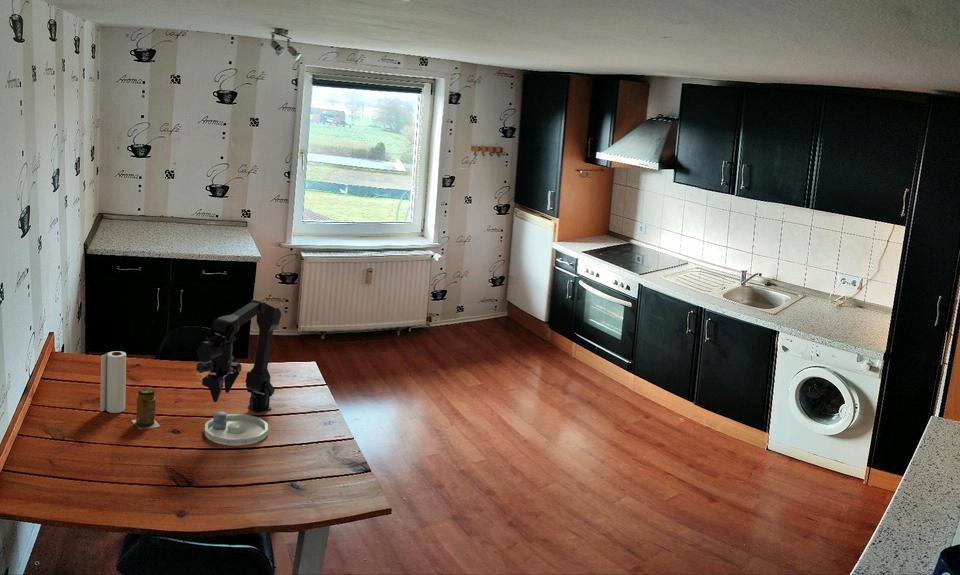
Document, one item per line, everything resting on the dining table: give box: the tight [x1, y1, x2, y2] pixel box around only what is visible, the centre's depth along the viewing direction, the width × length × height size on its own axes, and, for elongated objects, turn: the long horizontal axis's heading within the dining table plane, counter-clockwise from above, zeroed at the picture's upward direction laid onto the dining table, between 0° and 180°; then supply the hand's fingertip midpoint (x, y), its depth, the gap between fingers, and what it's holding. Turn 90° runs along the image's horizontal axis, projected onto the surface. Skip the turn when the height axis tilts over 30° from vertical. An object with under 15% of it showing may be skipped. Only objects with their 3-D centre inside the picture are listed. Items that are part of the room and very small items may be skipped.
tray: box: [204, 413, 269, 447], centre depth 290 cm, size 21×21×2 cm
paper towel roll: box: [99, 350, 127, 414], centre depth 293 cm, size 7×6×21 cm
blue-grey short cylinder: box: [212, 411, 228, 430], centre depth 290 cm, size 4×4×5 cm
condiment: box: [131, 387, 161, 430], centre depth 287 cm, size 7×8×12 cm
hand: (221, 397), depth 288 cm, fingers open, 9 cm apart
